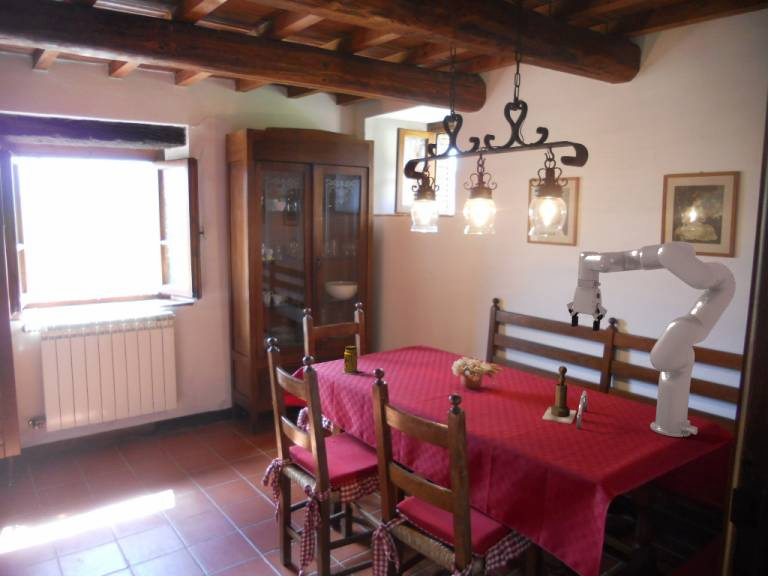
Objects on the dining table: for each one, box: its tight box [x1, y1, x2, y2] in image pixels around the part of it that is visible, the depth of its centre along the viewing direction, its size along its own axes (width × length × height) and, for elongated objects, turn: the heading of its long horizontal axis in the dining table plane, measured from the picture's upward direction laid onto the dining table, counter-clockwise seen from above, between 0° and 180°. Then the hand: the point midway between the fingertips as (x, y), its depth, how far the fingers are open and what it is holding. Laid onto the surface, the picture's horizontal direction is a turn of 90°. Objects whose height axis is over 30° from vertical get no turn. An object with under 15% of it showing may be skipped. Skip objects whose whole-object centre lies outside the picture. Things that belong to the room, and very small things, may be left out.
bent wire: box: [576, 390, 588, 430], centre depth 208 cm, size 1×21×10 cm, turn 155°
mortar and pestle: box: [550, 365, 571, 417], centre depth 210 cm, size 7×6×18 cm
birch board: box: [542, 406, 577, 425], centre depth 212 cm, size 10×14×1 cm
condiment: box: [340, 345, 364, 376], centre depth 266 cm, size 7×8×12 cm
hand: (585, 328), depth 221 cm, fingers open, 9 cm apart
